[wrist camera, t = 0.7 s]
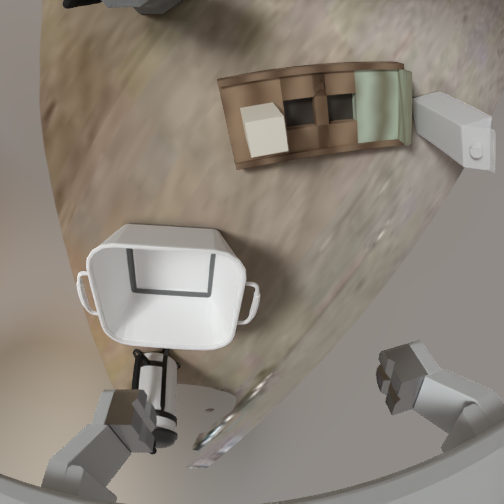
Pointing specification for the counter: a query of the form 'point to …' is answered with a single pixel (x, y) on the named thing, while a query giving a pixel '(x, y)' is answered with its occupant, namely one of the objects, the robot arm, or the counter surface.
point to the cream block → (264, 129)
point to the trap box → (323, 108)
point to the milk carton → (456, 129)
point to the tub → (167, 287)
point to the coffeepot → (129, 4)
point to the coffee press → (158, 392)
